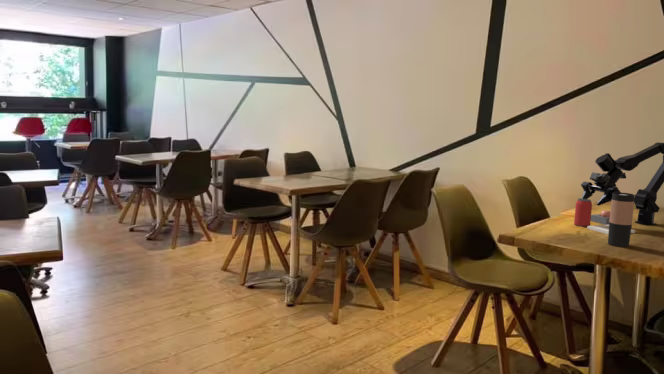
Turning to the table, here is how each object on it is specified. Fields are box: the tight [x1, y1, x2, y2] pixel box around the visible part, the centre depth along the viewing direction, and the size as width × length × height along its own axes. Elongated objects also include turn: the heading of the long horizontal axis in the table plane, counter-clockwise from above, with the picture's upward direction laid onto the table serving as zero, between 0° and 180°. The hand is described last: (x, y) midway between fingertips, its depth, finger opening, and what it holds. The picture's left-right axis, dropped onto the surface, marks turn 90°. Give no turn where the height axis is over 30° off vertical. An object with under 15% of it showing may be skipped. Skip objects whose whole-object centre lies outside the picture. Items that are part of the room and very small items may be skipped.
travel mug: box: [607, 192, 636, 248], centre depth 195 cm, size 8×8×20 cm
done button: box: [600, 209, 611, 217], centre depth 239 cm, size 4×4×4 cm
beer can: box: [573, 198, 593, 228], centre depth 230 cm, size 7×7×12 cm
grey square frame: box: [590, 213, 610, 225], centre depth 239 cm, size 9×9×3 cm
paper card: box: [587, 224, 636, 235], centre depth 221 cm, size 14×12×1 cm
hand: (589, 203), depth 231 cm, fingers open, 9 cm apart
